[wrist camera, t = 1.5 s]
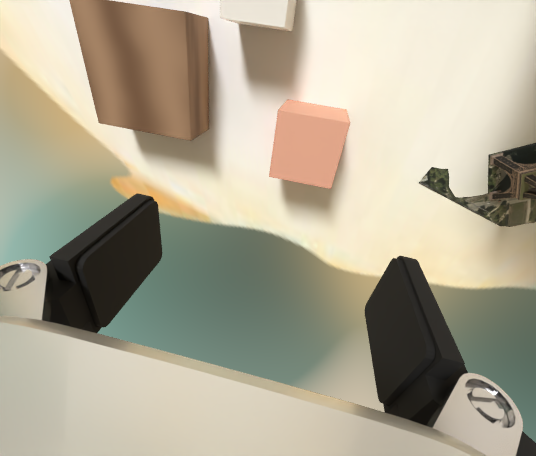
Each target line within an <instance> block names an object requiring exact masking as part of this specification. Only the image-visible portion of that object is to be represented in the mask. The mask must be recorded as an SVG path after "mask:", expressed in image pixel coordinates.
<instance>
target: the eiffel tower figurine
mask: <svg viewBox="0 0 536 456" xmlns="http://www.w3.org/2000/svg"><path fill="white" fill-rule="evenodd" d="M419 183H420V184H422V185H424V186H426V187H428V188H430V189H432V190H433V191H435V192H437V193H439V194H441V195H443V196H445V197H446V198H448V199H450V200H452V201H454V202H456V203H458V204H460V205H462V206H463V207H465V208H467V209H469V210H471V211H473V212H475V213H477V214H479V215H480V216H482V217H484V218H486V219H488V220H490V221H492V222H493V223H495V224H497V225H499V226H508V227H511V226H517V225H521V224H526V223H534V222H536V143H534V144H530V145H526V146H522V147H518V148H514V149H510V150H506V151H502V152H498V153H494V154H490V155H489V165H488V193H487V194H484V195H480V196H473V197H463V198H458V197H455V196H454V195H453V193H452V191H451V190H450V188H449V173H448V169H439V168H434V167H432V168H431V169H430V170H429V171H428V172H427V174H426V175H425V176H424V177H423V178H422V180H421V181H420V182H419Z"/></svg>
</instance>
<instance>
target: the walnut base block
mask: <svg viewBox="0 0 536 456" xmlns="http://www.w3.org/2000/svg"><path fill="white" fill-rule="evenodd" d="M70 4H71V9H72V13H73V17H74V21H75V25H76V30H77V34H78V38H79V42H80V46H81V50H82V55H83V59H84V63H85V67H86V71H87V75H88V80H89V84H90V88H91V92H92V96H93V100H94V105H95V109H96V113H97V117H98V121H99V123H102V124H107V125H112V126H117V127H122V128H127V129H133V130H138V131H143V132H148V133H153V134H159V135H164V136H169V137H174V138H179V139H185V140H190V141H191V140H193V139H194V138H196V137H198V136H199V135H201V134H202V133H204V132H205V131H207V130H208V129H209V84H208V18H206V17H203V16H199V15H195V14H192V13H188V12H184V11H177V10H170V9H163V8H157V7H150V6H143V5H136V4H130V3H123V2H116V1H109V0H70Z"/></svg>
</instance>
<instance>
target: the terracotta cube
mask: <svg viewBox="0 0 536 456" xmlns="http://www.w3.org/2000/svg"><path fill="white" fill-rule="evenodd" d="M349 126H350V120H349V117H348V113H347V110H346V109H340V108H334V107H328V106H323V105H317V104H311V103H305V102H299V101H293V100H287V101H286V102H285V103H284V104H283V105H282V106H281V108H280V109H279V110H278V115H277V122H276V130H275V137H274V144H273V152H272V159H271V166H270V174H269V177H273V178H278V179H283V180H288V181H293V182H298V183H303V184H309V185H314V186H319V187H324V188H329V189H331V187H332V184H333V180H334V177H335V173H336V170H337V167H338V163H339V160H340V156H341V153H342V149H343V146H344V143H345V139H346V136H347V132H348V129H349Z"/></svg>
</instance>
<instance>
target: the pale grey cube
mask: <svg viewBox="0 0 536 456" xmlns="http://www.w3.org/2000/svg"><path fill="white" fill-rule="evenodd" d="M296 2H297V0H220V18H221V19H225V20H228V21H231V22H235V23H238V24H244V25H251V26H258V27H265V28H271V29H278V30H285V31H291V32H292V30H293V23H294V16H295V9H296Z"/></svg>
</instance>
